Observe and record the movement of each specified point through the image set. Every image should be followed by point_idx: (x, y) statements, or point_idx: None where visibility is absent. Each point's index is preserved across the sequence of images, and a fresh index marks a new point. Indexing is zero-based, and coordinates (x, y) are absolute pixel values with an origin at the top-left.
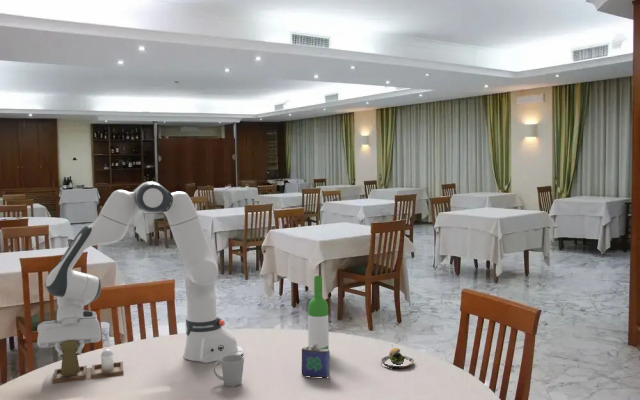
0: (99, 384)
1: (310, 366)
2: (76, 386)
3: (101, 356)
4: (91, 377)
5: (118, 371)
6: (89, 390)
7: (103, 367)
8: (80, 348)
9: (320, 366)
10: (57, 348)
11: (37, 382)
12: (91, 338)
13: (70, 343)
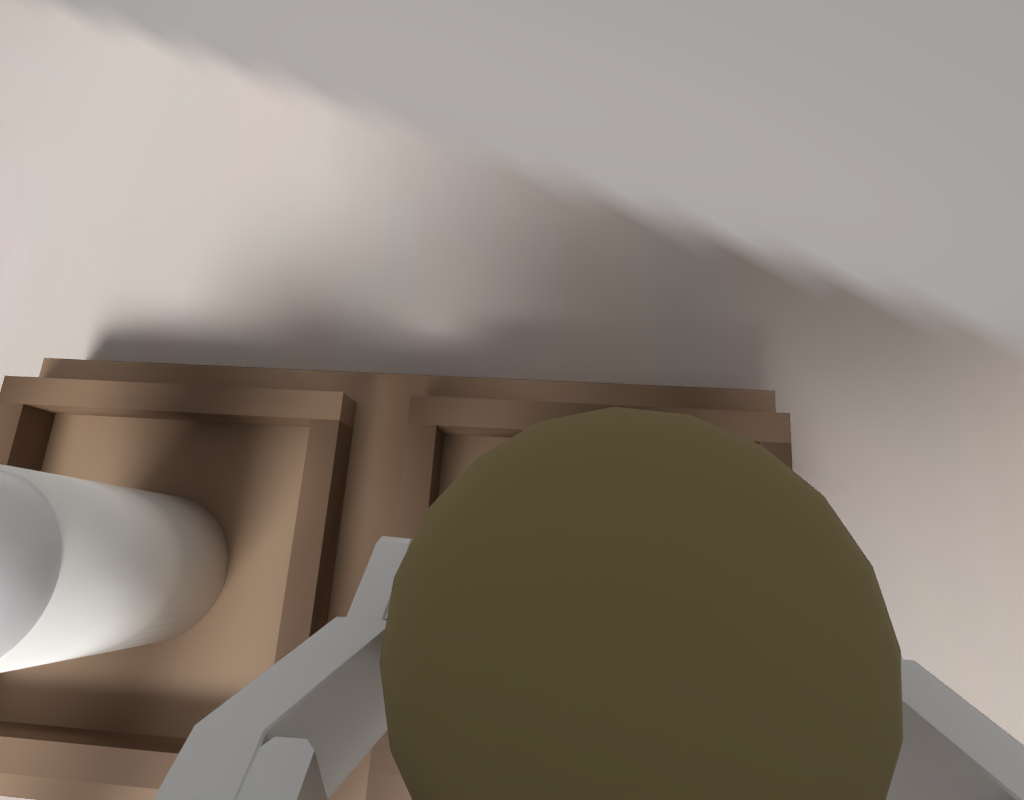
0: (310, 335)
1: None
2: (521, 367)
3: (80, 540)
4: (356, 426)
5: (56, 379)
6: (411, 220)
7: (172, 509)
8: (353, 600)
9: None
10: (959, 708)
11: (961, 682)
12: None
13: (594, 436)
